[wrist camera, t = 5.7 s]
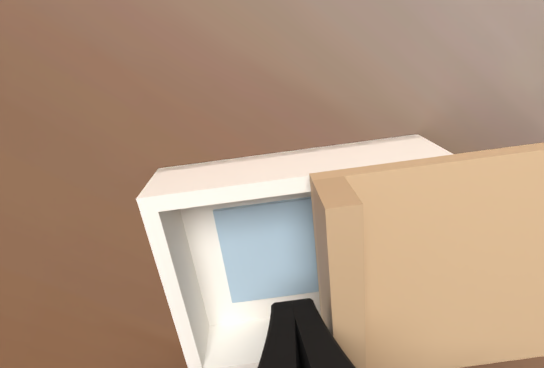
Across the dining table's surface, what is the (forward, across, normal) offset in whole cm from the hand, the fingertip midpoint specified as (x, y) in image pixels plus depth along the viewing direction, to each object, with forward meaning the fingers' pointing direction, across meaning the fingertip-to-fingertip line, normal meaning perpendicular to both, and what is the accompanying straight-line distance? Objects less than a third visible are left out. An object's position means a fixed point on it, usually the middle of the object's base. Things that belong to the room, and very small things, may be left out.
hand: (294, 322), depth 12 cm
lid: (+2, -7, 0) cm, 7 cm away
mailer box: (+5, -1, 0) cm, 5 cm away
